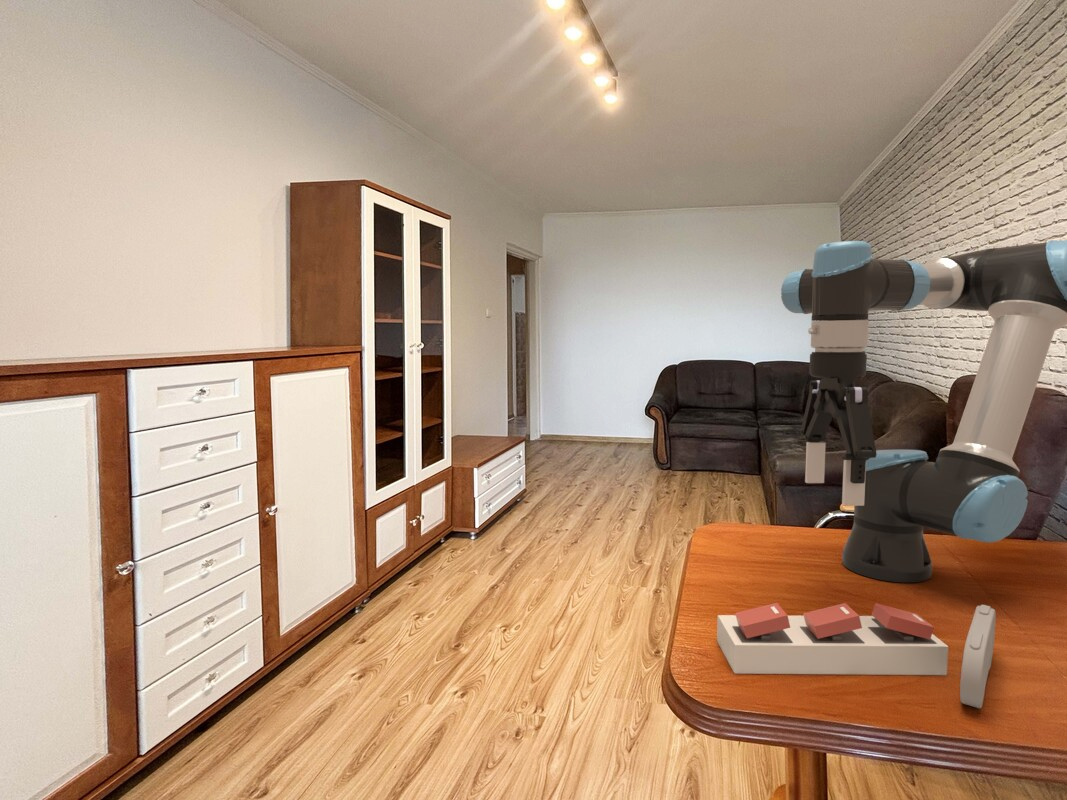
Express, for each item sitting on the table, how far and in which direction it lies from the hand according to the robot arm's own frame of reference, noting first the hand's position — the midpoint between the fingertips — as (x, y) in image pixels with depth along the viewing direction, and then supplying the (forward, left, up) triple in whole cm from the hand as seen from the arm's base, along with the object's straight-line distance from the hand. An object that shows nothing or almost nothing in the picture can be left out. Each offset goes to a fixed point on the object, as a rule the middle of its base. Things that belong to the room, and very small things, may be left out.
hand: (832, 493), depth 94 cm
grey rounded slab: (-13, +14, -22) cm, 29 cm away
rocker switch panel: (+4, +8, -22) cm, 23 cm away
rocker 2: (+4, +10, -15) cm, 19 cm away
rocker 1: (+13, +10, -15) cm, 22 cm away
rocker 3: (-6, +10, -15) cm, 19 cm away
